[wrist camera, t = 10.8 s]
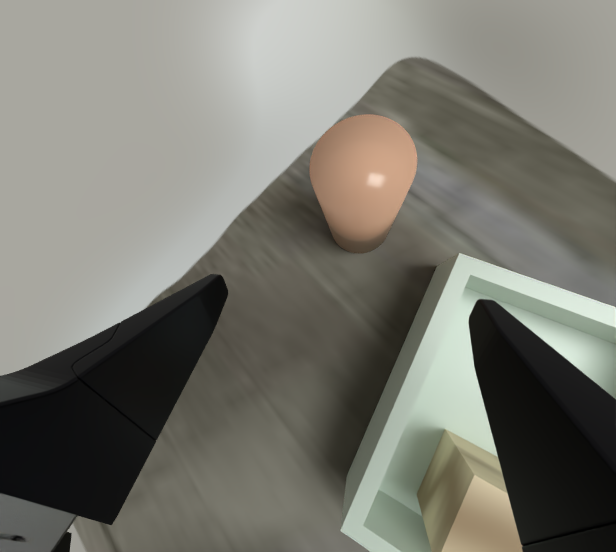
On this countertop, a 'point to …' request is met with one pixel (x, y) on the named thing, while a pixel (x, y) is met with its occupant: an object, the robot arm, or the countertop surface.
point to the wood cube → (466, 500)
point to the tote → (456, 390)
